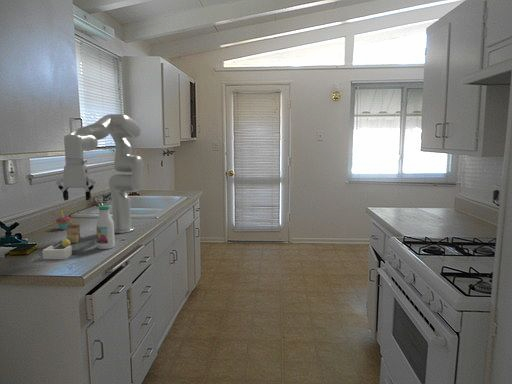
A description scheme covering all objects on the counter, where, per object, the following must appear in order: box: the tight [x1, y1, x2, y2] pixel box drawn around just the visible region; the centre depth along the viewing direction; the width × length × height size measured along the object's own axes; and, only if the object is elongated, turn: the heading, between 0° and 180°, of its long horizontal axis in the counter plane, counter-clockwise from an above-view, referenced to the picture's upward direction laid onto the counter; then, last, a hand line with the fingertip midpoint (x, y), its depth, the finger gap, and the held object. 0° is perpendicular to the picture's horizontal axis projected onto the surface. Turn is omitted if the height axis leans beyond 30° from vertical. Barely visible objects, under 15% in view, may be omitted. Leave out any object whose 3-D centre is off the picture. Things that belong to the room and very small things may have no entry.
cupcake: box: [55, 208, 73, 230], centre depth 223 cm, size 9×8×12 cm
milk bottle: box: [95, 204, 116, 250], centre depth 184 cm, size 8×8×20 cm
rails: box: [53, 244, 79, 249], centre depth 178 cm, size 8×9×1 cm
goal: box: [42, 245, 73, 260], centre depth 171 cm, size 7×9×4 cm
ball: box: [61, 238, 70, 247], centre depth 179 cm, size 4×4×4 cm
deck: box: [52, 240, 94, 255], centre depth 182 cm, size 16×15×2 cm
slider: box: [65, 223, 82, 243], centre depth 186 cm, size 4×5×8 cm
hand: (77, 199), depth 177 cm, fingers open, 9 cm apart
